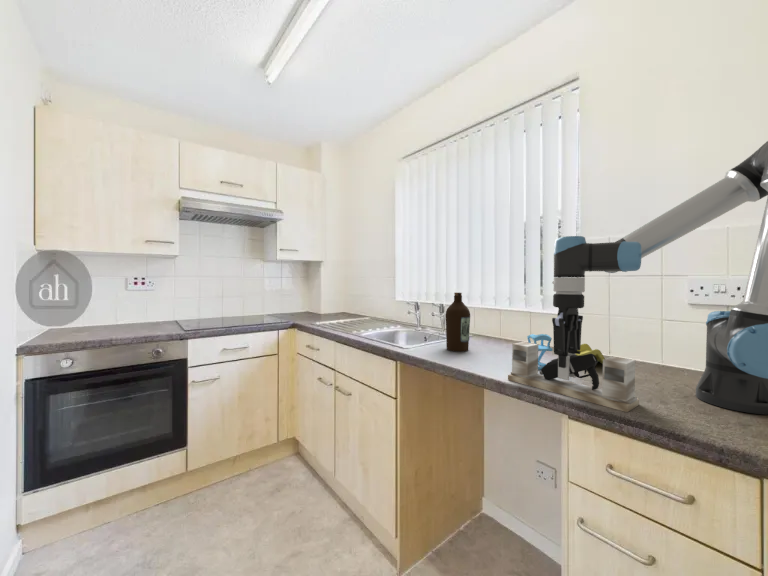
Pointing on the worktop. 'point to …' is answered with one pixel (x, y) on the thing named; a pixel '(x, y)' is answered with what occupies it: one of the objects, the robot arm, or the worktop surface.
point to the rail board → (614, 383)
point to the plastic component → (591, 352)
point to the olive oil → (457, 325)
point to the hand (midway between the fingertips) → (566, 377)
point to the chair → (541, 347)
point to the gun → (574, 368)
